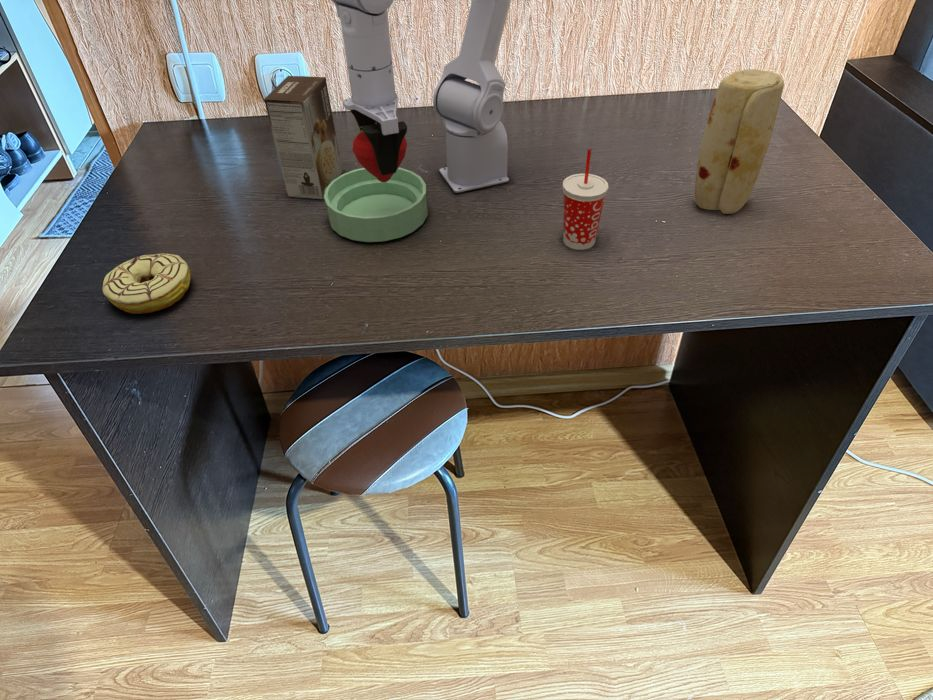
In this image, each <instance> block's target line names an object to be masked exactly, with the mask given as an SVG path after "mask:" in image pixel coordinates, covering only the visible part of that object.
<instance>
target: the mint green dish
mask: <svg viewBox="0 0 933 700" xmlns="http://www.w3.org/2000/svg"><path fill="white" fill-rule="evenodd" d="M323 200H324V206H325V210H326V215H327V221H328V223H329V225H330V228H331V230H333V231H334V232H336V234H338V235H339V236H340V237H344V238H346V239H349V240H351V241H357V242H364V243H378V242H388V241H392V240H395V239H399V238H402V237H405V236H407V235H410V234H412V233H413V232H415V231H416V230H418V229H419V228H420V227H421V226H422V225H423V224H424V223H425V221H426V219H427V217H428V215H429V211H428V209H429V208H428V207H429V206H428V193H427V184H426V182H425V181H424V179H423V178H422V177H421V175H419V174H417V173H415V172H414V171H412V170H410V169H406V168H403V167H400V166H399V167H398V169H397V171H396V173H394V174H393V175H392V177H391V178H390V180H389V181H387V182H381V181H379V180H378V179H377V178H376V177H375V176H373V175H372V174H371V173H369V172H368V171H367V170H366V169H365V168H364V167H361V168H355V169H352V170H350V171H347V172H345V173H342V174H341V175H340V176H339V177H338V178H336V179H334V180H333V181H332V182H331V183H330V184H329V185H328V187H327V188H326V189H325V194H324V199H323Z"/></svg>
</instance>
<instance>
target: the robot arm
mask: <svg viewBox="0 0 933 700" xmlns="http://www.w3.org/2000/svg"><path fill="white" fill-rule="evenodd" d="M331 2H332V3H333V4H334V6H335V9H336V16H337V18H338V19H339V20H340V26H341V27H340V28H341V33H342V39H343V47H344V52H345V53H344V54H345V60H346V67H347V72H348V80H349V88H350V94H351V96H350V97H349V98H346V99H343V100H342V102H343V103H342V104H343V107H344V108H345V110H347V111H350V113H351V114H352V115H353V117H354V119H355V121H356V123H357V126H358V128H359V132H360V131H361V130H363V132H364V133H365V135H366V136H367V138H368V139H369V141H370V143H371V145H372V148H373V151H374V154H375V158H376V161H377V165H378V168H379V170H380V172H381V174H382V175H387V174H392V173H396V171H397V165H398V158H399V151H400V147H401V143H402V141H403V138H404V136H405V137H406V135H407V133H408V124H407V123H406V122H405V121H399V119H398V118H399V117H397V113H398V112H397V111H398V103H399V100H398V98H399V97H398V94H397V93H396V84H395V74H394V73H395V72H394V65H393V64H394V63H393V53H392V43H391V35H390V24H389V13H388V12H389V11H388V9H389V8H391V6H392V4H393V3H394V0H331ZM511 2H512V0H471V3H470V9H469V11H468V16H467V21H466V24H465V29H464V33H463V36H462V37H463V38H462V42H461V46H460V50H459V55H458V56H457V57H455V58H454V59H452V60H450V61H449V62H447V63H446V64H445V65H444V67H443V71H442V75H441V77H440V79H439V80H438V83H437V85H436V87H435V89H434V92H433V97H432V105H433V109H434V112H435V114H437V115H438V116H439V117H441V124H442V125H443V126H444V129H445V150H446V167H441V168H439V173H440V175H441V176H442V178H443V179H444V180H445V182H446V183H447V185H448V186H449V187H450V188H451V190H452V191H453V193H455V194H458V193H464V192H469V191H472V190H478V189H482V188H488V187H491V186H496V185H501V184H505V183H509V181H510V178H509V177H508V162H509V161H508V159H509V157H508V155H509V153H508V152H509V141H508V134H507V130H506V128H505V126H504V123H503V122H502V121H501V118H502V115H503V111H504V92H505V89H506V82H505V80H504V78H503V76H502V75H501V73H500V72H499V71H498V69H497V67H496V61H497V57H498V54H499V49H500V45H501V41H502V37H503V33H504V29H505V25H506V22H507V17H508V14H509V10H510V6H511ZM468 80H471V81H468ZM472 81H474V82H472ZM475 82H476V83H475ZM375 122H376V123H377V124H375ZM361 126H362V128H361Z"/></svg>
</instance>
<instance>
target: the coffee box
mask: <svg viewBox="0 0 933 700" xmlns="http://www.w3.org/2000/svg"><path fill="white" fill-rule="evenodd" d="M263 101H264V105H265V109H266V113H267V117H268V121H269V125H270V129H271V133H272V137H273V142H274V145H275V149H276V150H275V151H276V154H277V158H278V161H279V165H280V169H281V172H282V173H281V174H282V178H283V182H284V186H285V189H286V194H287V196H288V197H291V198H301V199H302V198H303V199H315V200H324V194H325V189H326V188H327V187H328V185H329V184H330V183H331V182H332V181H333V180H334V179H336V178H338V177H339V176H341V175H342V174H343V168H342V161H341V155H340V150H339V145H338V139H337V133H336V127H335V123H334V122H335V121H334V117H333V111H332V105H331V99H330V95H329V89H328V82H327V77H326V76H309V75H307V76H305V75H288V76H286V77H285V78H284V79H283V80H282V81H281V82H280V83H279V84H278V85H277V86H276V87H275V88H274V89H273V90H271V92H270V93H268V94H267V95H266V96H265V97H264V99H263Z"/></svg>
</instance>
